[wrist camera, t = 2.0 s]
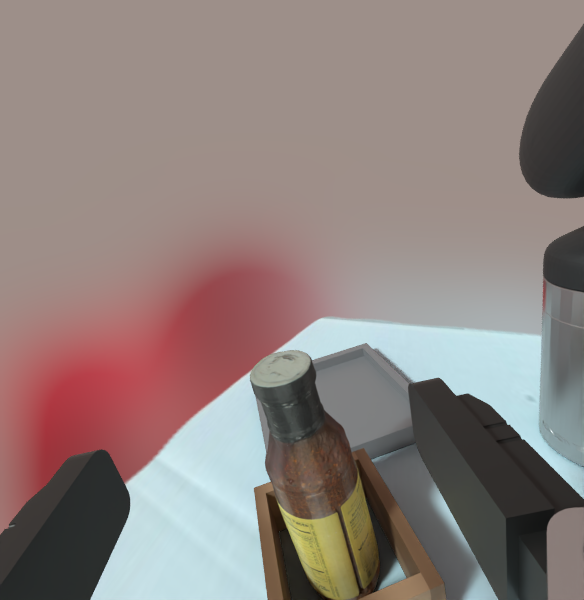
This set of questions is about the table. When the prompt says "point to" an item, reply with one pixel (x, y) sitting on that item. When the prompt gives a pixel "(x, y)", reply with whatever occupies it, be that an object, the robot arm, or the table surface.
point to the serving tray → (362, 400)
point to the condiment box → (407, 548)
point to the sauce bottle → (316, 480)
